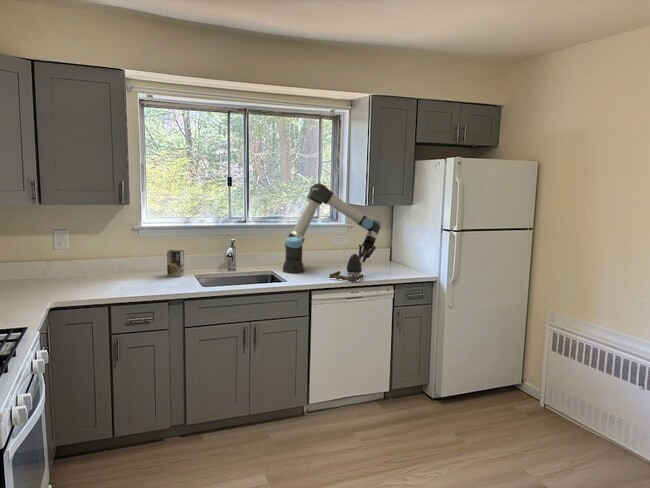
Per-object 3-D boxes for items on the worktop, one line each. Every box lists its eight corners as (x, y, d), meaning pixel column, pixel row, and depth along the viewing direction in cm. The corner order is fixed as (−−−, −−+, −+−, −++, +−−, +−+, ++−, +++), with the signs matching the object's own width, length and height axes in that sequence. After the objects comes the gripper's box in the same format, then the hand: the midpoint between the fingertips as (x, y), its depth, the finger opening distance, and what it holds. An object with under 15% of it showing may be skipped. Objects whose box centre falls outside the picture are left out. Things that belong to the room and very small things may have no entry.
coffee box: (184, 274, 311) (184, 250, 309) (180, 276, 304) (180, 251, 302) (171, 274, 312) (170, 249, 310) (166, 276, 305) (166, 251, 303)
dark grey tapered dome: (362, 277, 322) (363, 255, 320) (346, 277, 322) (347, 254, 320) (361, 274, 332) (362, 253, 330) (346, 274, 332) (347, 252, 330)
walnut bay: (329, 278, 315) (329, 274, 314) (338, 275, 327) (339, 271, 327) (354, 282, 306) (354, 277, 306) (363, 278, 319) (363, 274, 318)
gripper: (380, 242, 346) (370, 269, 334) (363, 241, 352) (353, 267, 340) (377, 236, 341) (367, 262, 328) (360, 234, 347) (350, 260, 334)
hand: (360, 264), depth 334 cm, fingers closed
